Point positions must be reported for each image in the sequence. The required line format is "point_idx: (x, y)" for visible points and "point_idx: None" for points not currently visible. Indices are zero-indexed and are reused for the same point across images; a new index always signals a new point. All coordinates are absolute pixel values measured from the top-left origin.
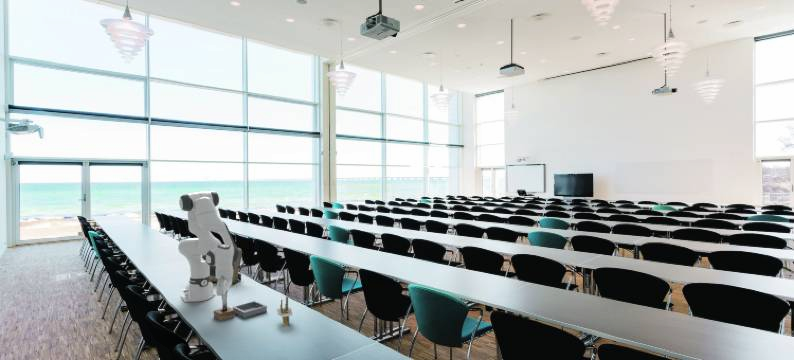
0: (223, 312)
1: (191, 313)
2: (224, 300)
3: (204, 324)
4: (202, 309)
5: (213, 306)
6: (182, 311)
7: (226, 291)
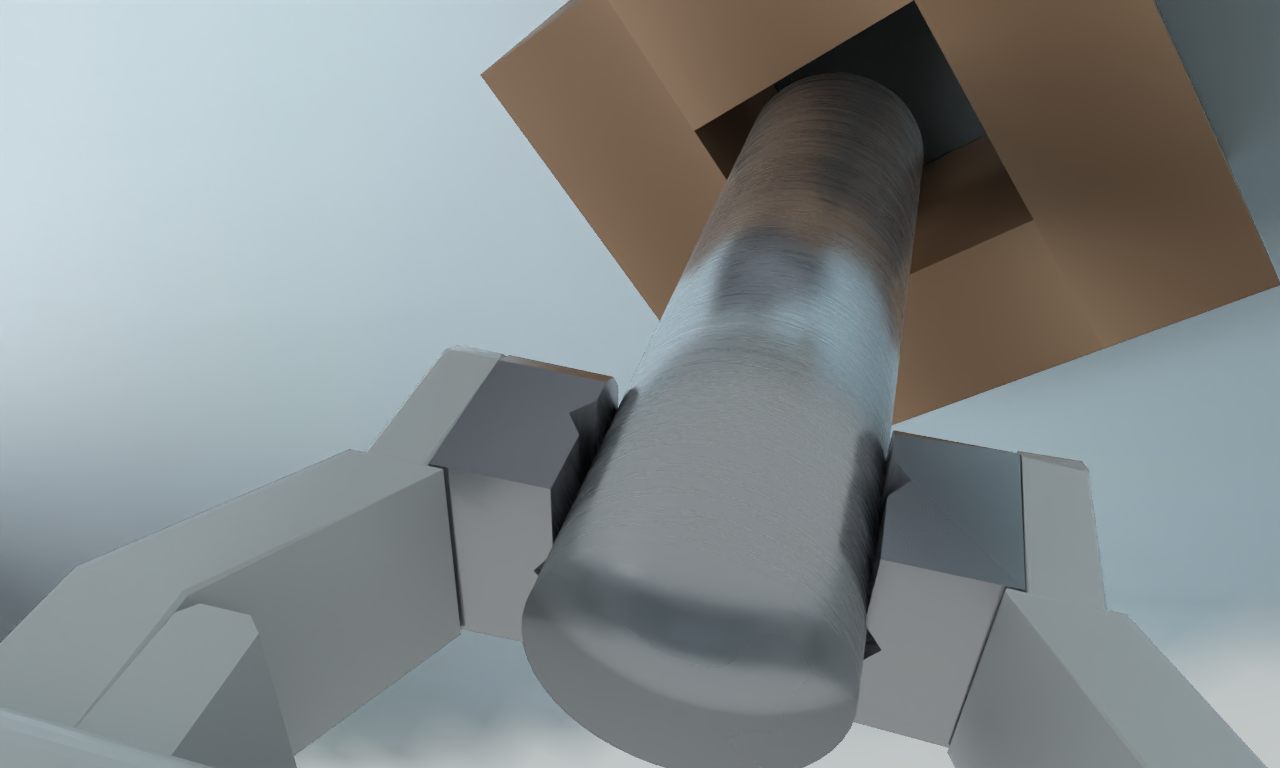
0: (1138, 183)
1: (434, 678)
2: (892, 408)
3: (1244, 522)
4: None
5: (71, 374)
6: (331, 759)
7: (284, 610)
